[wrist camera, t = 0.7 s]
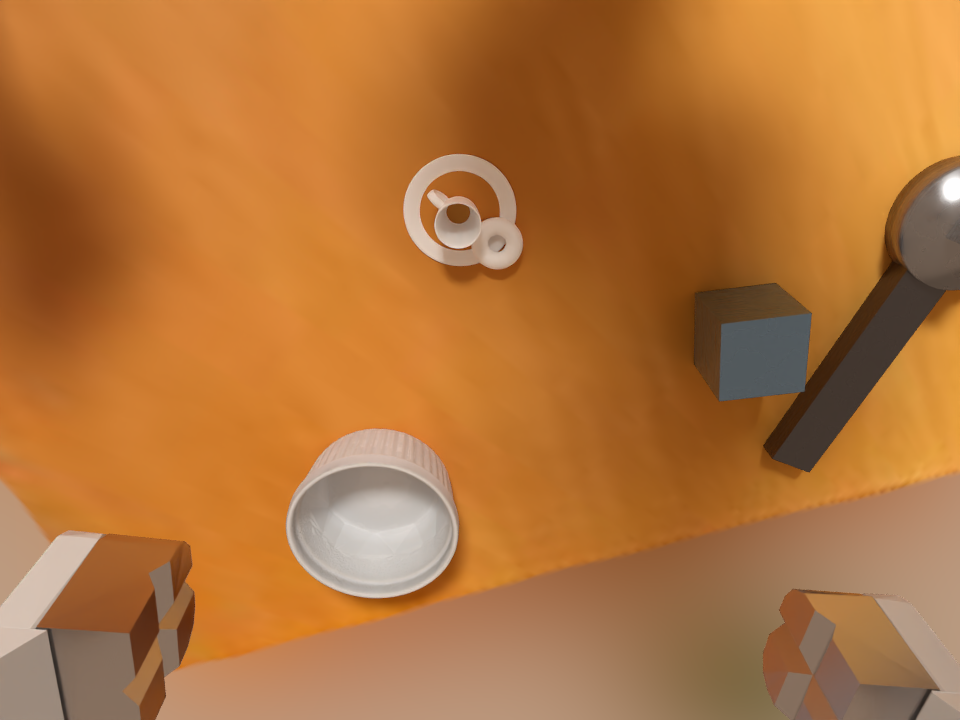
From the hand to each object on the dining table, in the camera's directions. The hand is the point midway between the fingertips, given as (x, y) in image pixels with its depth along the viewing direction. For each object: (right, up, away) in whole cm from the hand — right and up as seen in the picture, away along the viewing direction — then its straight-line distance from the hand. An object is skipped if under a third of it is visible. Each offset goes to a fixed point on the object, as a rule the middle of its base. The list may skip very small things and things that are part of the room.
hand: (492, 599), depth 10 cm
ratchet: (+30, +6, +44) cm, 54 cm away
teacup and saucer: (-2, +11, +42) cm, 43 cm away
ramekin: (-8, -7, +50) cm, 51 cm away
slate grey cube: (+19, +6, +44) cm, 48 cm away
